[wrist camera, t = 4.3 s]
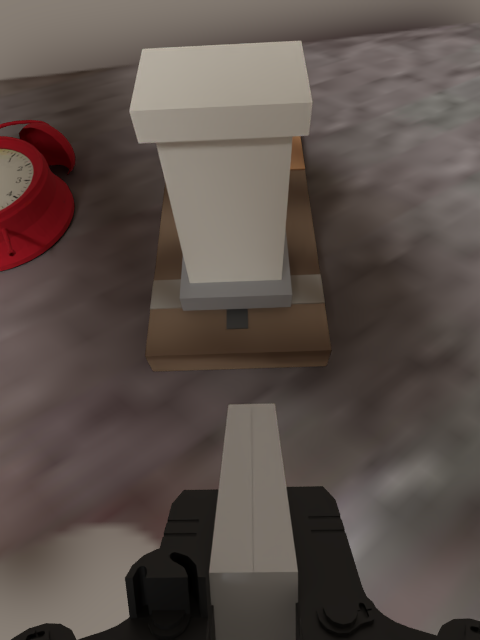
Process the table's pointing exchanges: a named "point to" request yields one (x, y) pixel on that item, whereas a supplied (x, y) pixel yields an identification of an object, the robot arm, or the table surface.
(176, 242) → the board
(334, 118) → the table surface
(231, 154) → the fader tab
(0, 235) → the alarm clock
